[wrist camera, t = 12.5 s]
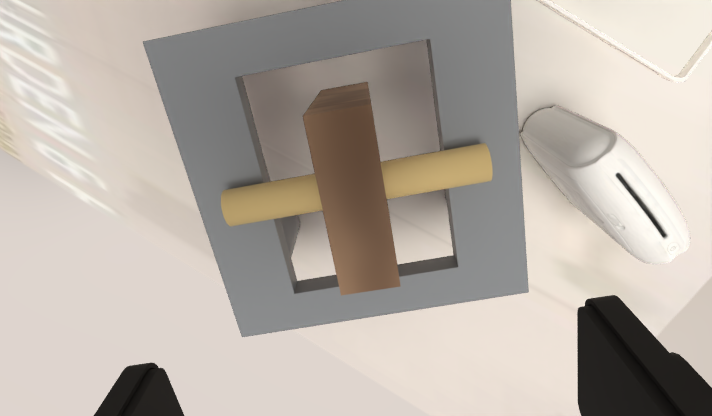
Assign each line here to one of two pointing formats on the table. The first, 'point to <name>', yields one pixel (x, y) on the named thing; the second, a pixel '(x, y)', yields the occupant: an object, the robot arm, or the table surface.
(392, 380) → the table surface
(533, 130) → the photo printer
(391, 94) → the table surface
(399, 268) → the grey open-frame table
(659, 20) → the table surface
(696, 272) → the table surface
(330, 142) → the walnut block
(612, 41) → the phone case
